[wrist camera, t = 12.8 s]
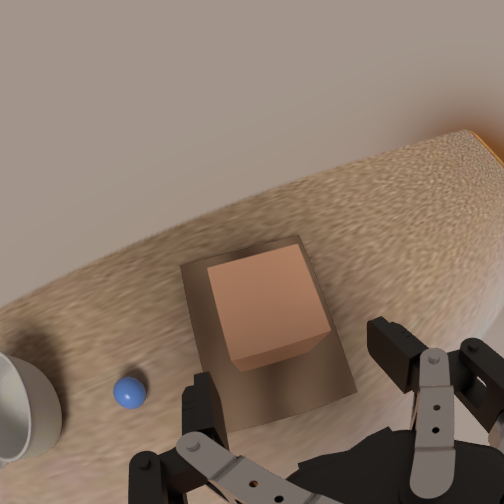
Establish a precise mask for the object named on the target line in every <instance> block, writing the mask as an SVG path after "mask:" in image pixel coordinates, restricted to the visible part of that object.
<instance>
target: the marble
mask: <svg viewBox="0 0 504 504" xmlns="http://www.w3.org/2000/svg"><path fill="white" fill-rule="evenodd" d="M113 394H114V397H115V400H116V401H117V402H118V404H120V405H121V406H122V407H124V408H127V409H136V408H138V407H140V406H141V405H142V404H143V403H144V401H145V399H146V390H145V387H144V385H143V384H142V383H141V382H140V381H139V380H138V379H136V378H133V377H123V378H121V379H119V380H118V381H117V382H116V383H115V385H114V389H113Z"/></svg>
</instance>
